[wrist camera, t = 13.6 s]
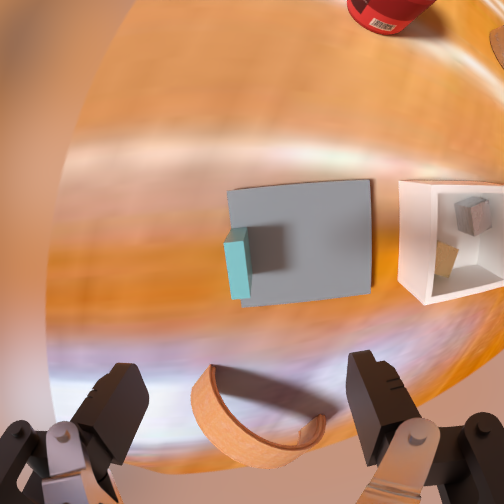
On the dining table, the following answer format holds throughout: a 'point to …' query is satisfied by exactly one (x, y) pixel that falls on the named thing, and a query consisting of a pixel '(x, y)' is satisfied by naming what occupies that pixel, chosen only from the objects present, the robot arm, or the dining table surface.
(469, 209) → the steel part
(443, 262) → the brass part
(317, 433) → the arch
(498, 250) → the tub
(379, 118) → the dining table surface
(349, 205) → the lid
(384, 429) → the robot arm
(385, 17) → the canned food
